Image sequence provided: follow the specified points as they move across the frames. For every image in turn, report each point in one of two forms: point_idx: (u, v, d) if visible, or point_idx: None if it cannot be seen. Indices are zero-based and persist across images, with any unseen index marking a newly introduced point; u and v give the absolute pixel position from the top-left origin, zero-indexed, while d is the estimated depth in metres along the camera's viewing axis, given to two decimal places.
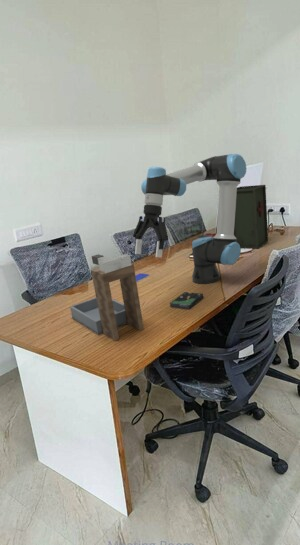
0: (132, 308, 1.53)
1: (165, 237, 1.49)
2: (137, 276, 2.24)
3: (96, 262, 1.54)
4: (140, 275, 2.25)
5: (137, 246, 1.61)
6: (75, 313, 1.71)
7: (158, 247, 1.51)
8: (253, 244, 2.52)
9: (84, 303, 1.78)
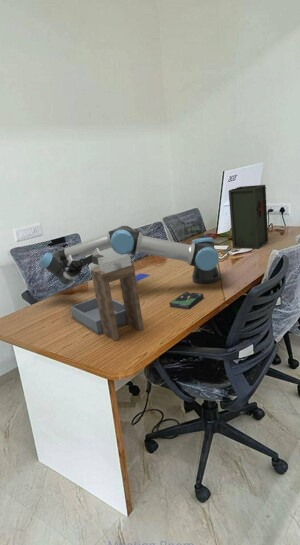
0: (132, 308, 1.53)
1: (60, 266, 1.68)
2: (137, 276, 2.23)
3: (96, 262, 1.54)
4: (140, 275, 2.25)
5: None
6: (75, 313, 1.71)
7: (68, 263, 1.66)
8: (253, 244, 2.52)
9: (84, 303, 1.78)
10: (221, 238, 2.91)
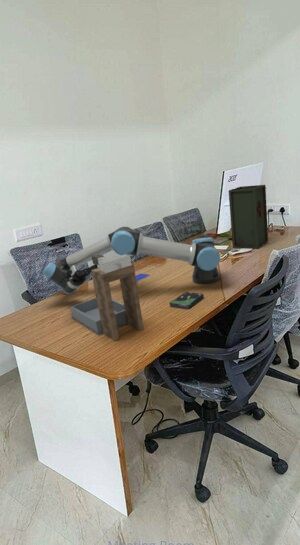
0: (132, 308, 1.53)
1: (63, 276, 1.67)
2: (137, 276, 2.23)
3: (96, 262, 1.54)
4: (140, 275, 2.24)
5: None
6: (75, 313, 1.71)
7: (72, 273, 1.65)
8: (253, 244, 2.52)
9: (84, 303, 1.78)
10: (221, 238, 2.91)
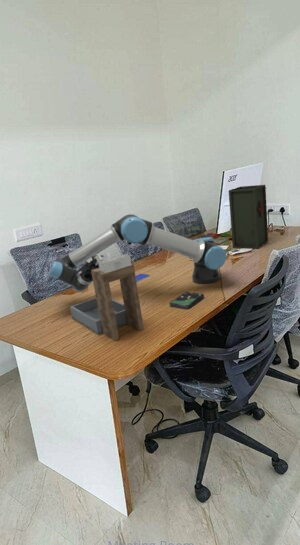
0: (132, 308, 1.53)
1: None
2: (137, 276, 2.23)
3: None
4: (140, 275, 2.24)
5: None
6: (75, 313, 1.71)
7: (97, 262, 1.52)
8: (253, 244, 2.52)
9: (84, 303, 1.78)
10: (222, 238, 2.91)
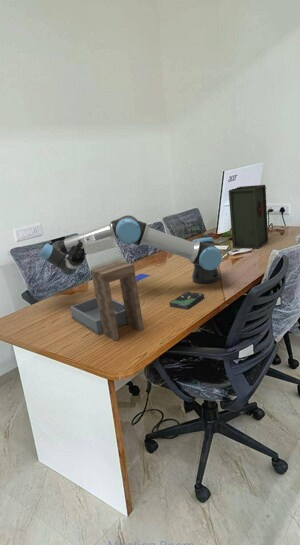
0: (132, 308, 1.53)
1: (73, 249, 1.61)
2: (137, 276, 2.23)
3: None
4: (140, 275, 2.24)
5: None
6: (75, 313, 1.71)
7: (82, 245, 1.58)
8: (253, 244, 2.52)
9: (84, 303, 1.78)
10: (223, 238, 2.91)
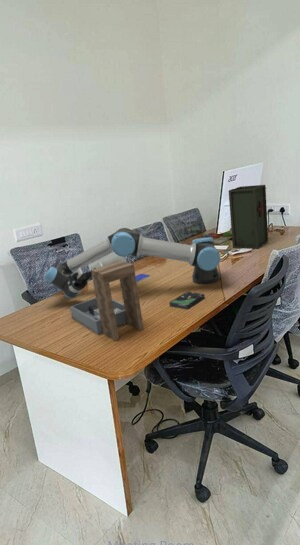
0: (132, 308, 1.53)
1: (69, 279, 1.67)
2: (137, 276, 2.23)
3: (92, 313, 1.74)
4: (140, 275, 2.24)
5: None
6: (75, 313, 1.71)
7: (78, 276, 1.65)
8: (253, 244, 2.52)
9: (84, 303, 1.78)
10: (224, 238, 2.91)
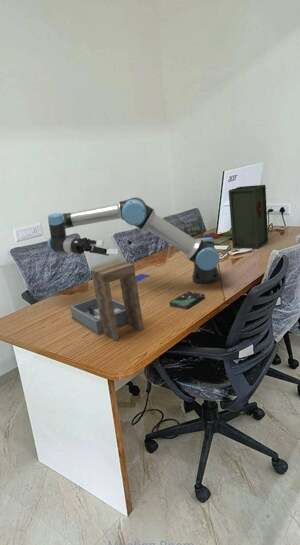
0: (132, 308, 1.53)
1: (83, 240, 1.68)
2: (137, 277, 2.22)
3: (92, 313, 1.74)
4: (140, 276, 2.23)
5: (111, 253, 1.79)
6: (75, 313, 1.71)
7: (94, 244, 1.68)
8: (253, 244, 2.52)
9: (84, 303, 1.78)
10: (225, 237, 2.91)
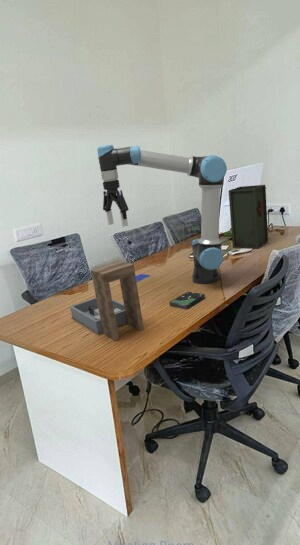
0: (132, 308, 1.53)
1: (125, 208, 1.68)
2: (137, 277, 2.22)
3: (92, 313, 1.74)
4: (140, 276, 2.23)
5: (108, 218, 1.82)
6: (75, 313, 1.71)
7: (122, 218, 1.71)
8: (253, 244, 2.52)
9: (84, 303, 1.78)
10: (225, 237, 2.91)
